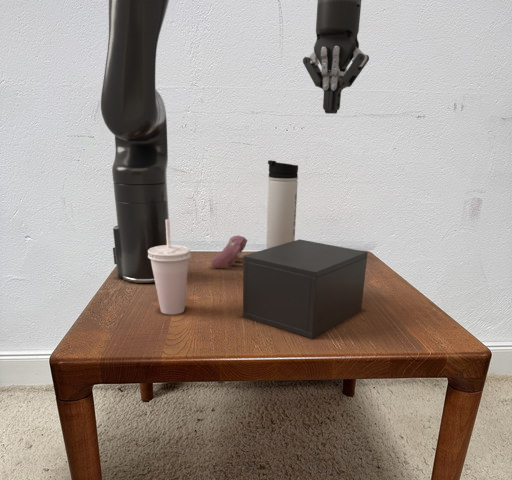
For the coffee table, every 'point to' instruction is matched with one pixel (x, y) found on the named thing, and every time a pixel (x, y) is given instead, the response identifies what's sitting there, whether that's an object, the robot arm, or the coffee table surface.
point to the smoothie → (170, 274)
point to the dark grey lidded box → (303, 286)
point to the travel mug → (281, 203)
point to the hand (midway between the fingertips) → (331, 113)
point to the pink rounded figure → (230, 252)
